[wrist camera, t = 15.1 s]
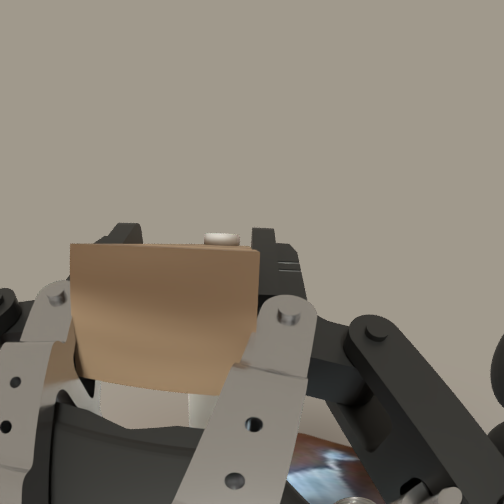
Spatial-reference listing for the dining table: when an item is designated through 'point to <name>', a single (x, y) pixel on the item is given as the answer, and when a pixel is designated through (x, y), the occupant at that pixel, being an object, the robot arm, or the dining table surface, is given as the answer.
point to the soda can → (354, 501)
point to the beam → (163, 312)
